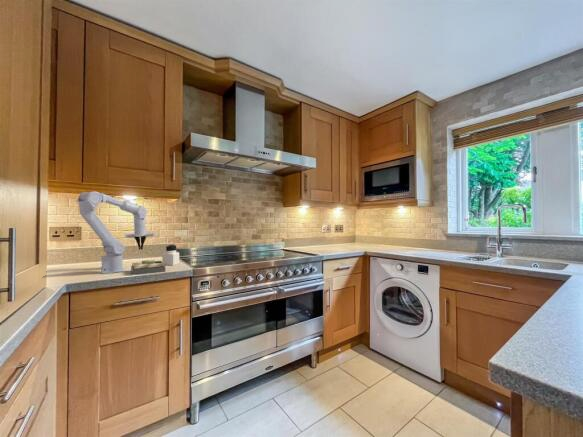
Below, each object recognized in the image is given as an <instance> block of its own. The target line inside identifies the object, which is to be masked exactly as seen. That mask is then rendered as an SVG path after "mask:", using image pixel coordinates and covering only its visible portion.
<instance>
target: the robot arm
mask: <svg viewBox="0 0 583 437" xmlns="http://www.w3.org/2000/svg"><path fill="white" fill-rule="evenodd" d="M76 201H77V202H78V208H79V214H80V216H81V217H82V218H83V219H84V221H85V222H86V224H88V225H89V227H90V228H91V230H93V232H94V233H95V235H96V236H97V237H98V238H99V239H100V241H101V246H102V247H103V250H104V252H105V254H106V255H102V256H101V266H100V271H101V274H111V273H112V274H113V273H123V272H124V271H125V270H124V268H123V255H124V254H123V253H125V250H126V246H125V244H124V243H122V242H120V240H119V239H118V238H115V237H114V236H113V234H112V233H111V232H110V230H109V229H108V228H107V227H106V225H105V224H104V223H103V221H102V220H101V219H100V217H99V216H98V215H97V213H96V209H97V208H98V206H99V205H100V204H101V203H106V204H109V205H113V206H116V207H119V210H121V211H123V212H127V213H129V214H132V215H133V227H134V228H133V230H134V233H127V234H125V239H131V238H134V240H135V242H136V243H137V247H138V250H143V248H144V245H145V241H146V239H147V238H149V237H155V232H147V231H146V230H147V228H146V227H147V226H146V215H147V214H148V209H147V208H146V207H145V206H144V205H139V204H138V203H133V202H131V200H129V199H127V200H125V199H124V200H119V199H117V198H115V197H112V196H110V195H108V194H105V193H103V192H98V191H89V192H87V191H83V192H81V193H79V196H78V198H77V200H76Z"/></svg>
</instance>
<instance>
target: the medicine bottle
mask: <svg viewBox="0 0 583 437" xmlns="http://www.w3.org/2000/svg"><path fill="white" fill-rule="evenodd" d="M161 255H162V258H161V259H162V260H161V261H162V262H163V263H164V266H172V265H173V266H176V265H179V264H180V252H178V251H177V245H175V244H168V245H166V246H165V252H164V253H162V254H161Z"/></svg>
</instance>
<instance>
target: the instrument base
mask: <svg viewBox="0 0 583 437" xmlns="http://www.w3.org/2000/svg"><path fill="white" fill-rule="evenodd" d="M130 270H131V274H132V276H135V275H145V274H146V275H147V274H156V273H163V272H164V273H165V272H166V265H164V266H160V267H149V268H138V269H134V268H133V266H132V265H131V266H130Z"/></svg>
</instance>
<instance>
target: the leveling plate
mask: <svg viewBox="0 0 583 437" xmlns="http://www.w3.org/2000/svg"><path fill="white" fill-rule="evenodd" d="M131 266H133V268H134V269H138V268H149V267H160V266H165V265H164V263H163V262H162V260H154V259H151V260H150V259H149V260H142V261H141V262H132V263H131Z"/></svg>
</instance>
